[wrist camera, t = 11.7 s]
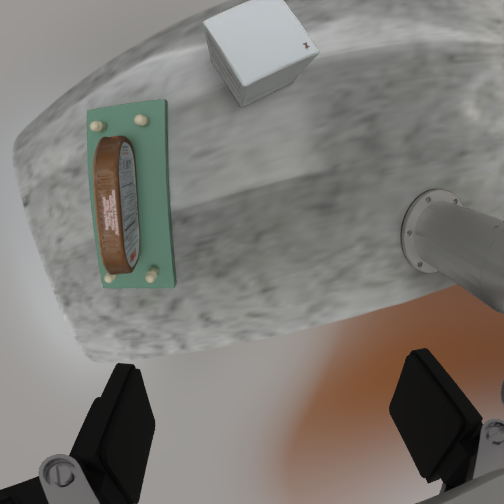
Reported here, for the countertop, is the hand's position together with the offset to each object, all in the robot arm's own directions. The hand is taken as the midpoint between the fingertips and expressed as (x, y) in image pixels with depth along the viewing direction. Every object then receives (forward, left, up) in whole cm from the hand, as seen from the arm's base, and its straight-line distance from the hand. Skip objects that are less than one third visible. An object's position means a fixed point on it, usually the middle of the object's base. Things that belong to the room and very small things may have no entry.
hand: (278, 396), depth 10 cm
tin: (+13, -3, -28) cm, 31 cm away
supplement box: (-1, -18, -30) cm, 35 cm away
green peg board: (+14, -3, -30) cm, 33 cm away
